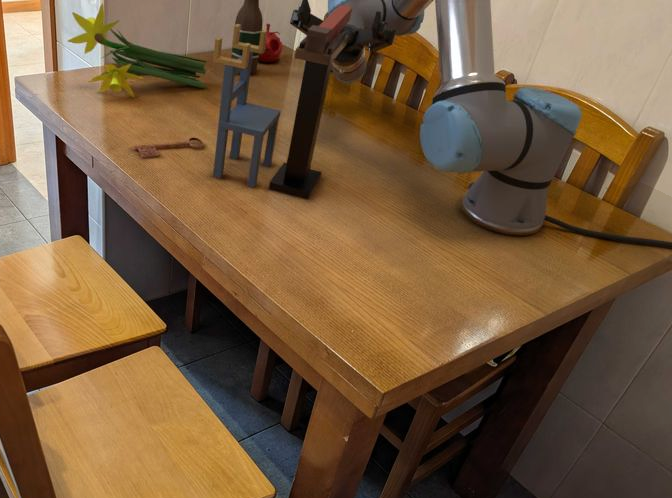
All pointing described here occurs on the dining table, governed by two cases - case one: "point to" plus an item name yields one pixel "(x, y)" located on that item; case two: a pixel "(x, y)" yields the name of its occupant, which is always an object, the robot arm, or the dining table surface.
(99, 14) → the daffodil flowers
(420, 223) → the dining table surface
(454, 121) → the robot arm
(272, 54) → the pomegranate
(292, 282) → the dining table surface
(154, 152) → the key
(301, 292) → the dining table surface
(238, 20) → the beer bottle
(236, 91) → the chair
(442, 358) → the dining table surface
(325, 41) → the hanger bar
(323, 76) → the stand
